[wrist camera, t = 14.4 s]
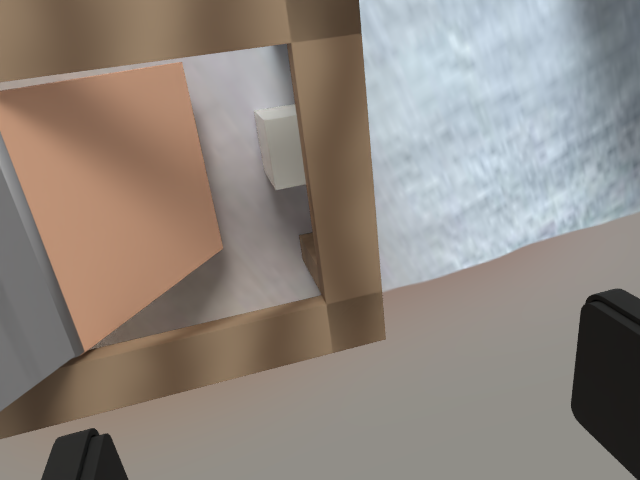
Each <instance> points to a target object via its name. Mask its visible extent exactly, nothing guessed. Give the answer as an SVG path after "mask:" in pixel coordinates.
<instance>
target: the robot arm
mask: <svg viewBox="0 0 640 480" xmlns="http://www.w3.org/2000/svg"><path fill="white" fill-rule="evenodd" d="M571 408H572V412H573V414H574V416H575V418H576V420H577V421H578V422H579V423H580V424H581V425H582V426H583V427H584V428H585V429H586V430H587V431H588V432H589V433H590V434H591V435H592V436H593V437H594V438H595V439H596V440H597V441H598V442H599V443H600V444H601V445H602V446H603V447H604V448H605V449H606V450H607V451H609V452H610V453H611V454H612V455H613V456H614V457H615V458H616V459H617V460H618V461H619V462H620V463H621V464H622V465H623V466H624V467H625V468H626V469H627V470H628V471H629V472H630V473H631V474H632V475H633V476H634V477H635V478H637V480H640V299H639V298H637V297H635V296H634V295H632V294H630V293H628V292H626V291H624V290H622V289H612V290H608V291H605V292H601V293H597V294H594V295H591V296H589V297H588V298H587V300H586V303H585V305H583V307H582V309H581V315H580V323H579V333H578V342H577V352H576V361H575V372H574V380H573V390H572V399H571ZM41 480H128V478H127V475H126V473H125V470H124V468H123V465H122V463H121V460H120V458H119V455H118V453H117V451H116V448H115V446H114V443H113V441H112V438H111V436H110V435H109V434H103V435H99V433H98V431H97V430H96V429H95V428H91V429H88V430H84V431H80V432H76V433H73V434H69V435H65V436H61V437H59V438H57V439H56V441H55V443H54V445H53V447H52V450H51V453H50V456H49V459H48V462H47V465H46V467H45V470H44V473H43V476H42V479H41Z"/></svg>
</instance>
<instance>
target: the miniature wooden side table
mask: <svg viewBox="0 0 640 480" xmlns="http://www.w3.org/2000/svg"><path fill="white" fill-rule="evenodd" d="M280 44H287V49H288V56H289V63H290V71H291V78H292V85H293V92H294V100H295V107H296V114H297V121H298V129H299V136H300V143H301V151H302V158H303V165H304V172H305V180H306V187H307V194H308V201H309V209H310V216H311V223H312V230H313V232H312V233H307V234H303V235H299V238H300V245H301V252H302V258H303V261H304V263H305V265H306V266H307V268H308V270H309V272H310V274H311V276H312V277H313V279H314V281H315V283H316V285H317V287H318V289H319V290H320V292H321V296H317V297H312V298H308V299H304V300H300V301H295V302H291V303H287V304H283V305H278V306H274V307H270V308H266V309H261V310H257V311H253V312H249V313H244V314H240V315H236V316H232V317H227V318H223V319H219V320H215V321H210V322H206V323H202V324H198V325H194V326H189V327H185V328H181V329H177V330H172V331H168V332H164V333H160V334H155V335H151V336H147V337H143V338H138V339H134V340H130V341H126V342H121V343H117V344H113V345H109V346H104V347H100V348H96V349H92V350H87V351H86V352H85V353H83V354H82V355H80V356H78V357H75V358H72V359H70V360H69V361H68V362H66V363H65V364H63V365H62V366H61V367H59V368H58V369H57V370H55V371H54V372H53V373H51V374H50V375H49V376H47V377H46V378H45V379H43V380H42V381H41V382H39V383H38V384H37V385H35V386H34V387H33V388H31V389H30V390H28V391H27V392H26V393H24V394H23V395H22V396H20V397H19V398H18V399H16V400H15V401H14V402H12V403H11V404H10V405H8V406H7V407H6V408H4V409H3V410H2V411H0V439H2V438H7V437H11V436H14V435H18V434H22V433H26V432H30V431H33V430H38V429H41V428H45V427H49V426H53V425H57V424H61V423H65V422H68V421H72V420H76V419H80V418H83V417H88V416H91V415H95V414H99V413H103V412H107V411H111V410H115V409H119V408H122V407H126V406H130V405H134V404H138V403H142V402H146V401H149V400H153V399H157V398H161V397H165V396H168V395H172V394H176V393H180V392H184V391H188V390H192V389H196V388H199V387H203V386H207V385H211V384H215V383H219V382H223V381H227V380H230V379H234V378H238V377H242V376H246V375H249V374H254V373H257V372H261V371H265V370H269V369H272V368H277V367H280V366H284V365H288V364H292V363H296V362H300V361H304V360H307V359H311V358H315V357H319V356H323V355H327V354H330V353H335V352H338V351H342V350H346V349H350V348H354V347H358V346H361V345H365V344H369V343H373V342H377V341H381V340H385V339H386V336H385V324H384V311H383V298H382V286H381V273H380V260H379V248H378V235H377V223H376V210H375V197H374V185H373V172H372V160H371V147H370V135H369V122H368V109H367V97H366V84H365V72H364V59H363V47H362V34H361V21H360V9H359V0H0V82H4V81H12V80H19V79H27V78H34V77H42V76H49V75H56V74H64V73H71V72H79V71H86V70H94V69H101V68H109V67H116V66H123V65H131V64H138V63H146V62H153V61H161V60H168V59H176V58H183V57H190V56H198V55H205V54H213V53H220V52H228V51H235V50H242V49H250V48H257V47H265V46H272V45H280Z"/></svg>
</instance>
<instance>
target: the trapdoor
mask: <svg viewBox="0 0 640 480" xmlns="http://www.w3.org/2000/svg"><path fill="white" fill-rule="evenodd" d="M222 249H223V245H222V241H221V236H220V232H219V227H218V223H217V218H216V214H215V209H214V205H213V200H212V196H211V191H210V187H209V182H208V178H207V173H206V169H205V164H204V159H203V155H202V150H201V146H200V141H199V137H198V132H197V128H196V123H195V119H194V114H193V110H192V105H191V101H190V96H189V92H188V87H187V83H186V78H185V74H184V69H183V65H182V62H179V63H171V64H165V65H159V66H152V67H146V68H140V69H134V70H127V71H121V72H115V73H109V74H102V75H96V76H90V77H84V78H77V79H71V80H65V81H59V82H53V83H46V84H40V85H34V86H28V87H21V88H15V89H9V90H3V91H0V411H2V410H3V409H4V408H6V407H7V406H8V405H10V404H11V403H12V402H14V401H15V400H16V399H18V398H19V397H20V396H22V395H23V394H24V393H26V392H27V391H28V390H30V389H31V388H33V387H34V386H35V385H37V384H38V383H39V382H41V381H42V380H43V379H45V378H46V377H47V376H49V375H50V374H51V373H53V372H54V371H55V370H57V369H58V368H59V367H61V366H62V365H63V364H65V363H66V362H68V361H69V360H70V359H72V358H75V357H78V356H80V355H82V354H83V353H85V352H86V351H87V350H89V349H90V348H91V347H93V346H94V345H95V344H97V343H98V342H99V341H101V340H102V339H103V338H105V337H106V336H107V335H109V334H110V333H111V332H113V331H114V330H115V329H117V328H118V327H119V326H121V325H122V324H123V323H125V322H126V321H127V320H129V319H130V318H131V317H133V316H134V315H135V314H137V313H138V312H139V311H141V310H142V309H143V308H145V307H146V306H147V305H149V304H150V303H151V302H153V301H154V300H155V299H157V298H158V297H159V296H161V295H162V294H163V293H165V292H166V291H167V290H169V289H170V288H171V287H173V286H174V285H175V284H177V283H178V282H179V281H181V280H182V279H183V278H185V277H186V276H187V275H189V274H190V273H191V272H193V271H194V270H195V269H197V268H198V267H199V266H201V265H202V264H203V263H204V262H206V261H207V260H208V259H210V258H211V257H212V256H214V255H215V254H216V253H218V252H219V251H220V250H222Z"/></svg>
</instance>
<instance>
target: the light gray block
mask: <svg viewBox="0 0 640 480" xmlns="http://www.w3.org/2000/svg"><path fill="white" fill-rule="evenodd" d="M254 116H255V121H256V127H257V133H258V138H259V144H260V150H261V155H262V161H263V167H264V172H265V173H266V175H267V177H268V178H269V180H270V181H271V183H272V185H273V186H274V188H275V190H280V189H285V188H290V187H295V186H300V185H305V184H306V180H305V172H304V165H303V158H302V151H301V143H300V136H299V129H298V121H297V114H296V107H295V104H292V105H286V106H279V107H273V108H267V109H261V110H255V111H254Z"/></svg>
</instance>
